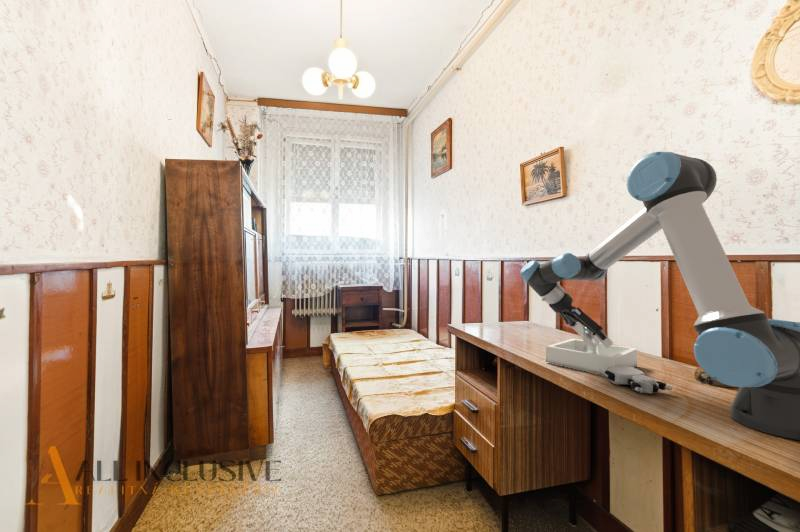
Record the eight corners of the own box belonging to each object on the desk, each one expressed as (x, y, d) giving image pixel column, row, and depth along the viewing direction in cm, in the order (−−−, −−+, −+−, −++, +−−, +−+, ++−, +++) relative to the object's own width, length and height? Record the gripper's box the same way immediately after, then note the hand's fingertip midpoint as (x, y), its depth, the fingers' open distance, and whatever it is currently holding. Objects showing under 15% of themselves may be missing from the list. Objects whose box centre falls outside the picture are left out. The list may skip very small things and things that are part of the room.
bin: (614, 378, 111) (615, 358, 111) (545, 363, 128) (546, 346, 128) (636, 366, 126) (637, 348, 126) (572, 353, 142) (572, 338, 143)
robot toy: (675, 399, 97) (630, 378, 112) (677, 382, 97) (631, 363, 111) (636, 401, 94) (595, 379, 109) (638, 384, 94) (596, 365, 109)
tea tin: (596, 364, 123) (596, 329, 123) (580, 361, 127) (580, 327, 127) (601, 361, 127) (602, 327, 127) (586, 358, 131) (586, 325, 131)
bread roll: (740, 401, 103) (754, 377, 103) (703, 383, 105) (717, 359, 105) (717, 390, 113) (730, 368, 112) (683, 374, 115) (696, 352, 114)
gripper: (534, 301, 139) (572, 341, 139) (566, 309, 114) (612, 357, 114) (548, 288, 139) (586, 327, 140) (583, 293, 114) (629, 341, 115)
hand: (597, 341), depth 127 cm, fingers open, 13 cm apart
